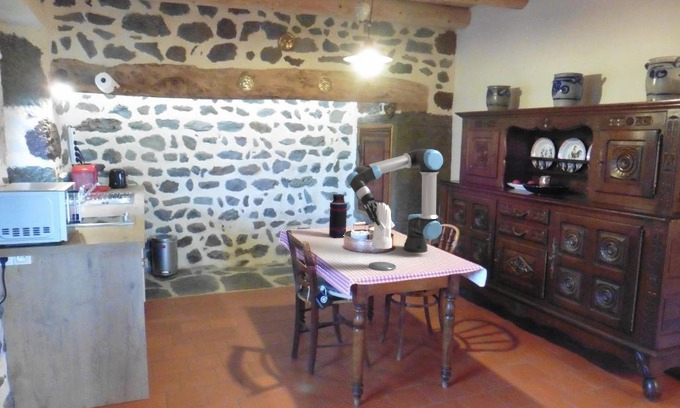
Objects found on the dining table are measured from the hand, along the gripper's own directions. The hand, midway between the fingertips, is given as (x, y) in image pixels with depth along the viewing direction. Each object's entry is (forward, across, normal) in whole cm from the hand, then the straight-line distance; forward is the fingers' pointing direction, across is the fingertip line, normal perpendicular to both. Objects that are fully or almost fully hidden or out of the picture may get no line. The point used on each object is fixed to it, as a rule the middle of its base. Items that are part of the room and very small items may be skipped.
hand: (388, 228), depth 264 cm
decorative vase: (+5, 0, -10) cm, 12 cm away
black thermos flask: (-33, -44, -65) cm, 85 cm away
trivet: (+14, 0, -18) cm, 22 cm away
